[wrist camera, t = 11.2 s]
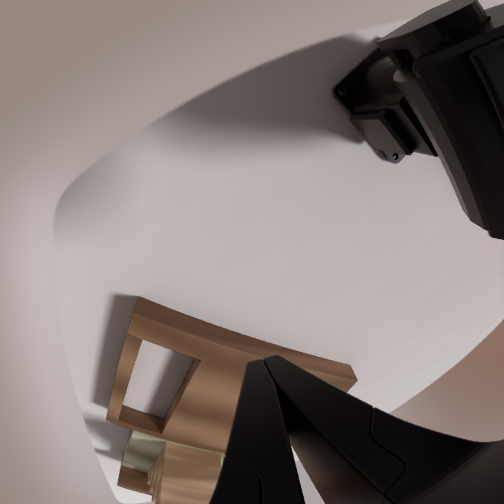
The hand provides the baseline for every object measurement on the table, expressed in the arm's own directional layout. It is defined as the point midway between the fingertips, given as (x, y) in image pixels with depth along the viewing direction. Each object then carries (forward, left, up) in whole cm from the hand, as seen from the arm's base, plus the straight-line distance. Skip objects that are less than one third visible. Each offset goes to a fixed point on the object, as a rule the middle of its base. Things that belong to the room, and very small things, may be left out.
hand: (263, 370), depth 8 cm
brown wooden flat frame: (+19, +11, -12) cm, 25 cm away
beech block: (+25, +13, -10) cm, 30 cm away
